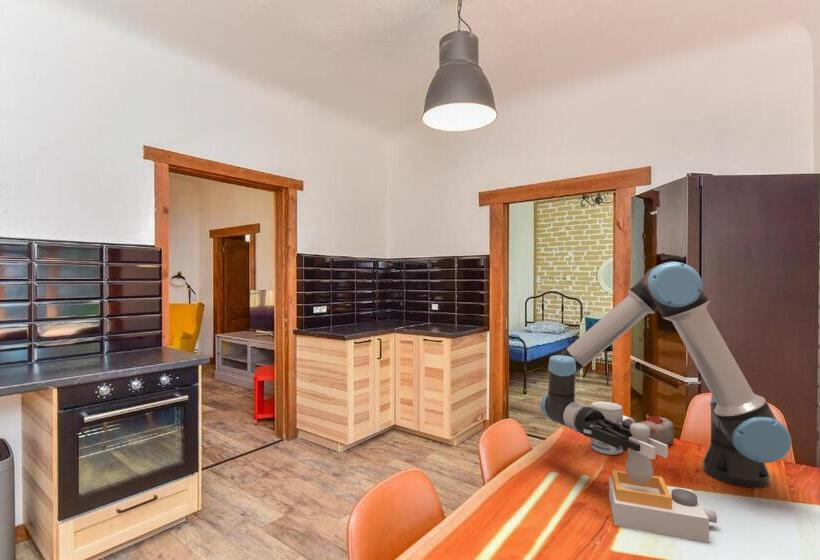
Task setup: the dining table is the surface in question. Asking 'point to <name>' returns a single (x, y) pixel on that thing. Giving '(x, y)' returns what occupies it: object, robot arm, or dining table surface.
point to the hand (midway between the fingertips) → (660, 452)
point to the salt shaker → (639, 457)
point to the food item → (660, 429)
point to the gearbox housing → (658, 508)
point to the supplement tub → (615, 415)
